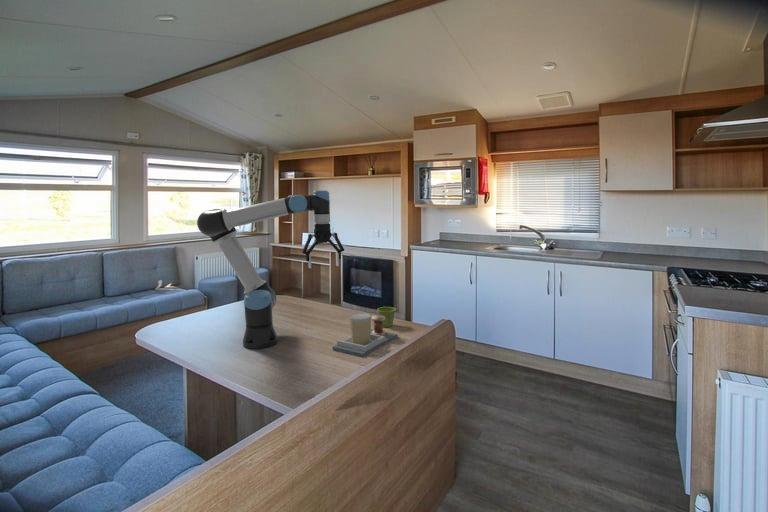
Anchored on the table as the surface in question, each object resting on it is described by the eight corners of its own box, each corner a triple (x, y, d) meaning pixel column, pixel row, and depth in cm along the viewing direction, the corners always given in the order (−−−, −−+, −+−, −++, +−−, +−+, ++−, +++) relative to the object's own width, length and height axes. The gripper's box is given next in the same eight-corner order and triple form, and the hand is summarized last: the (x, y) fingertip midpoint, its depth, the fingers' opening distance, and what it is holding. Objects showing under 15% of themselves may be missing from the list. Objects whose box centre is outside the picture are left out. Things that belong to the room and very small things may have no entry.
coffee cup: (372, 339, 185) (372, 313, 184) (370, 346, 176) (369, 319, 174) (352, 338, 186) (351, 313, 185) (348, 346, 177) (347, 319, 175)
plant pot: (385, 321, 216) (385, 305, 215) (399, 325, 210) (399, 308, 209) (373, 326, 209) (373, 309, 208) (388, 329, 203) (388, 312, 202)
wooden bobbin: (374, 336, 189) (374, 319, 187) (369, 332, 195) (369, 316, 193) (387, 334, 191) (387, 318, 190) (382, 330, 197) (382, 314, 196)
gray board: (363, 357, 169) (362, 349, 168) (332, 350, 177) (332, 342, 177) (397, 337, 192) (397, 329, 192) (369, 331, 201) (369, 324, 200)
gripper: (345, 221, 205) (346, 263, 208) (294, 223, 195) (296, 267, 199) (349, 222, 198) (350, 266, 201) (297, 224, 189) (299, 270, 192)
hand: (324, 267), depth 200 cm, fingers open, 13 cm apart
